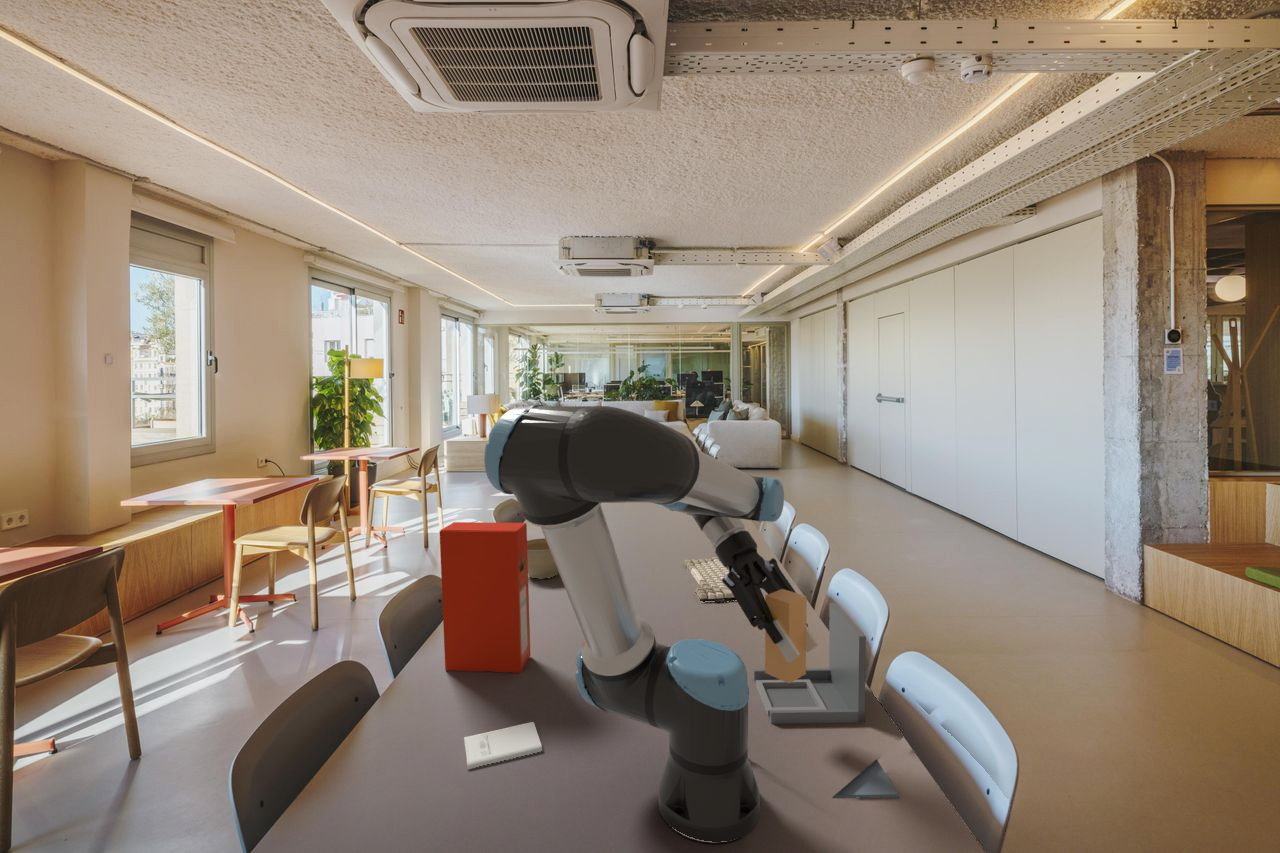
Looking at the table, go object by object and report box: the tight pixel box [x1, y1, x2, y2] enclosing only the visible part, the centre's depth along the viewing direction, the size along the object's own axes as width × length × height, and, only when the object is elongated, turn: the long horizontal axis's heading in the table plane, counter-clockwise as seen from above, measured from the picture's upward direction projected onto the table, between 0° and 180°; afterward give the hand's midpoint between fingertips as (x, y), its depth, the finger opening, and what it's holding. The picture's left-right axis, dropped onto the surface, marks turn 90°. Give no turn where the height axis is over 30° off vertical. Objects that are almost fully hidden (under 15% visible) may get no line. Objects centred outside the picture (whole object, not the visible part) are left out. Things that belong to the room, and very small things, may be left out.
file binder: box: [439, 521, 531, 674], centre depth 129 cm, size 8×17×32 cm, turn 85°
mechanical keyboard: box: [683, 556, 736, 603], centre depth 184 cm, size 38×19×3 cm, turn 8°
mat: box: [832, 759, 900, 799], centre depth 91 cm, size 10×10×1 cm
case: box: [753, 602, 867, 725], centre depth 111 cm, size 18×16×18 cm
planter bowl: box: [527, 537, 559, 579], centre depth 192 cm, size 16×16×11 cm
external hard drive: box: [463, 721, 543, 770], centre depth 100 cm, size 2×8×12 cm
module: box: [764, 589, 807, 683], centre depth 100 cm, size 5×5×14 cm
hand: (803, 653), depth 97 cm, fingers closed on module, 5 cm apart
